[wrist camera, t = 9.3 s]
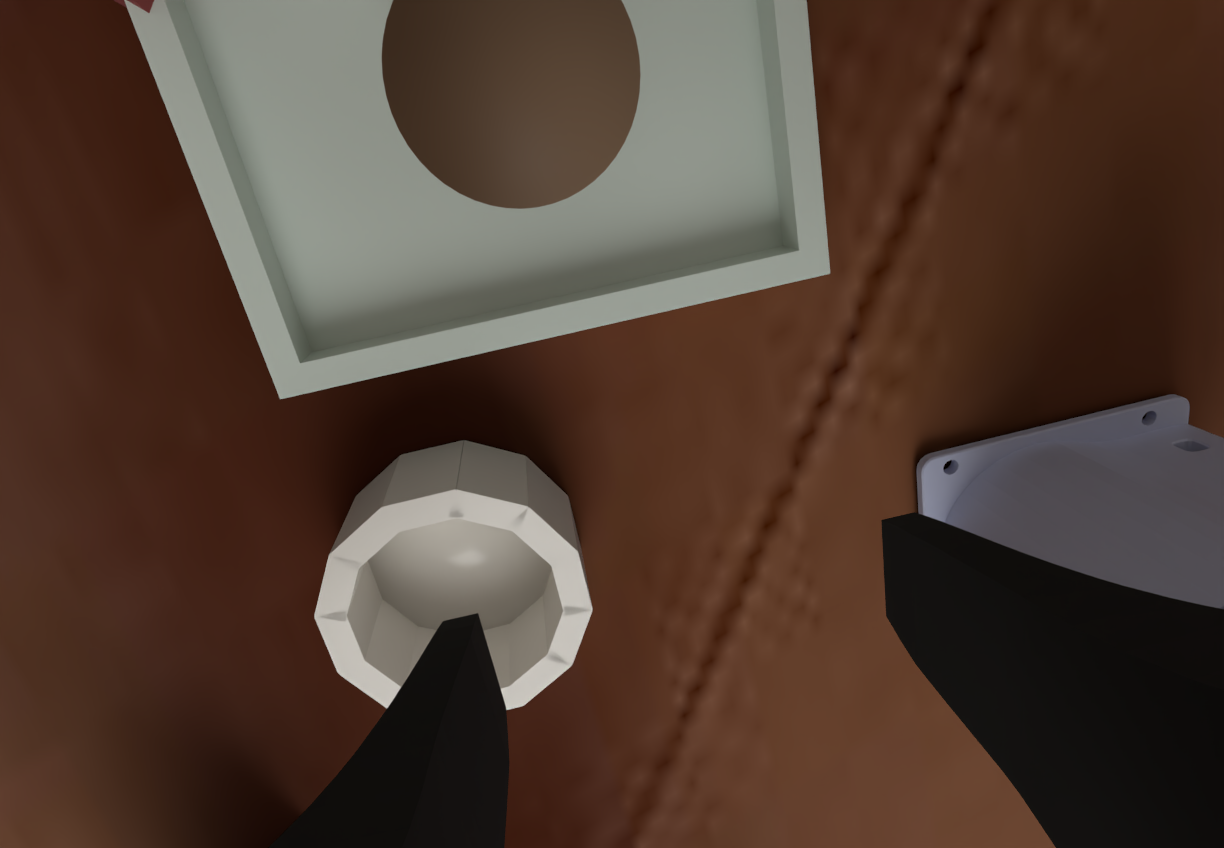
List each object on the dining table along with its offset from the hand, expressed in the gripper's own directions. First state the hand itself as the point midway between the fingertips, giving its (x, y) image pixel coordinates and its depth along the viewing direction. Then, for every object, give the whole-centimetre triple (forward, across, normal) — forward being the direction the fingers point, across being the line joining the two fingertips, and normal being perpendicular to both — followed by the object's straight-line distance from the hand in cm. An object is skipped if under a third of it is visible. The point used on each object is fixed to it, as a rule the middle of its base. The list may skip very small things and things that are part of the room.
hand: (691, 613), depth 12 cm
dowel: (+10, +1, -9) cm, 13 cm away
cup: (+10, +6, +3) cm, 12 cm away
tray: (+10, +1, -9) cm, 14 cm away
